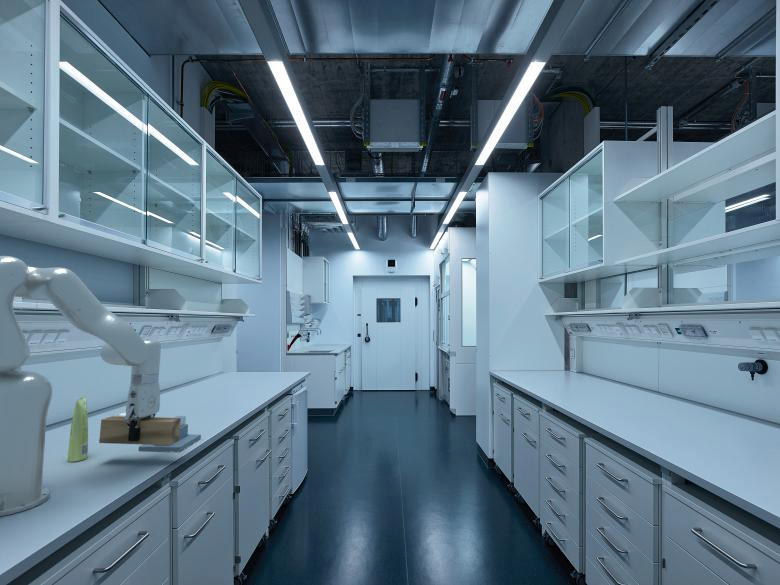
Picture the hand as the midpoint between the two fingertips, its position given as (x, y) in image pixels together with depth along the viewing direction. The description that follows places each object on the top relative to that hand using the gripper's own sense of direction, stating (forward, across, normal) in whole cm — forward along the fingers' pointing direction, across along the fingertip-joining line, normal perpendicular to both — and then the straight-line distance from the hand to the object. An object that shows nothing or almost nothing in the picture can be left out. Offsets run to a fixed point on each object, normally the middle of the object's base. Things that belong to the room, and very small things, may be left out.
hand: (140, 437), depth 120 cm
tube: (+8, +2, +21) cm, 22 cm away
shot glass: (+7, +31, +26) cm, 41 cm away
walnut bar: (+1, 0, 0) cm, 1 cm away
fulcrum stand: (+7, +17, 0) cm, 18 cm away
